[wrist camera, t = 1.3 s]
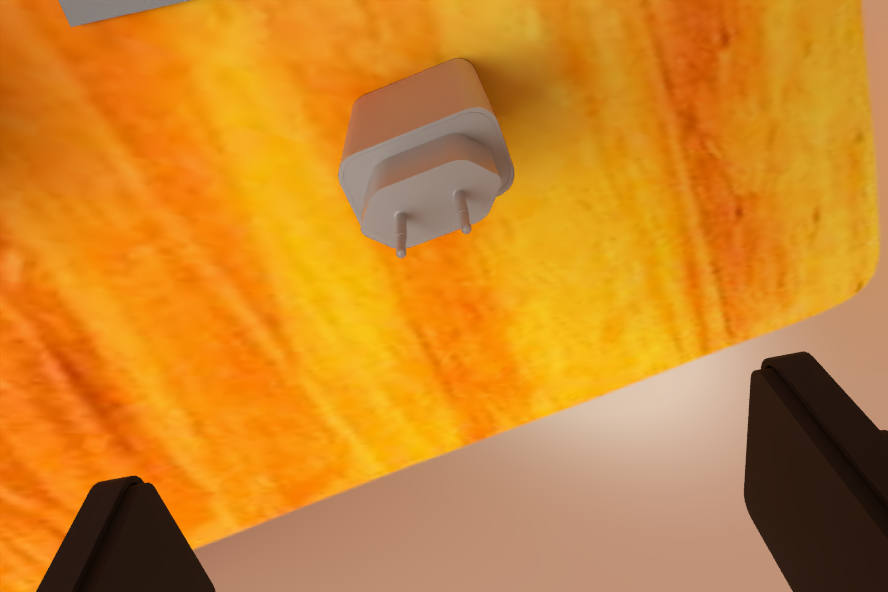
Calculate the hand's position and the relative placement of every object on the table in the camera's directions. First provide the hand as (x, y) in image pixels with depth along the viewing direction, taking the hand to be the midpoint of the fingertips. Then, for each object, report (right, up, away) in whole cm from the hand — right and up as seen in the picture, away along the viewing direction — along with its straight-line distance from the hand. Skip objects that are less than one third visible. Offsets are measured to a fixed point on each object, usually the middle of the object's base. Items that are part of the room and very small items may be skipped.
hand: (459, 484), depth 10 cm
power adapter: (-1, +11, +17) cm, 20 cm away
